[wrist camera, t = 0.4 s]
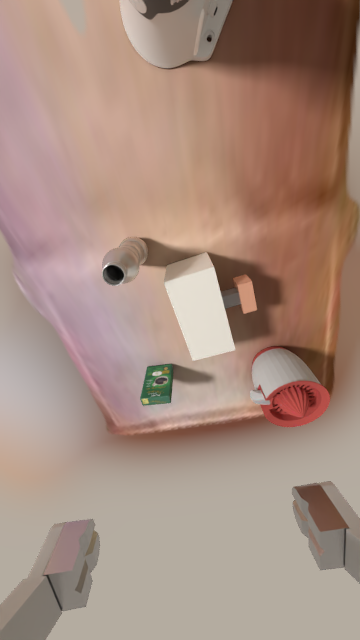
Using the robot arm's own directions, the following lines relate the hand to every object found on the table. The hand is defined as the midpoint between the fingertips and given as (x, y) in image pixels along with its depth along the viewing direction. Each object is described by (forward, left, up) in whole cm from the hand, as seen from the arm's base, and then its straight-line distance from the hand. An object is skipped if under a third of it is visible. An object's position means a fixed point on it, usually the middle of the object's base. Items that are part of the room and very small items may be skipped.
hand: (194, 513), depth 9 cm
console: (+6, +10, -51) cm, 52 cm away
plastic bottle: (+6, -9, -51) cm, 52 cm away
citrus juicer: (+10, +41, -51) cm, 66 cm away
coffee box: (+32, +16, -51) cm, 62 cm away
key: (+1, +14, -46) cm, 48 cm away
